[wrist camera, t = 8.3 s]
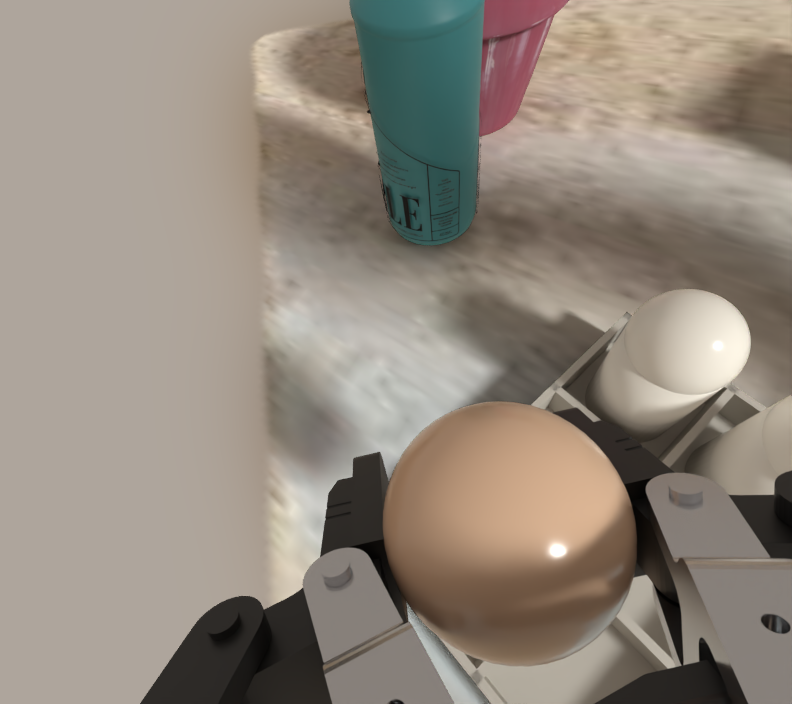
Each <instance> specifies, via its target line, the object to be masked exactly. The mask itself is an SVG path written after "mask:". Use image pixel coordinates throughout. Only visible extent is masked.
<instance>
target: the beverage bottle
mask: <svg viewBox="0 0 792 704" xmlns="http://www.w3.org/2000/svg"><path fill="white" fill-rule="evenodd" d="M484 2H485V0H350V9H351V14H352V17H353V20H354V23H355V28H356V34H357V39H358V44H359V50H360V55H361V60H362V62H361V68H362V66H363V74H364V82H365V86H366V91H365V92H367V93H366V94H365V95H367V100H368V104H367V105H369V106H368V107H369V108H370V109H369V111H367V113H370V114H371V119H372V125H373V130H374V135H375V141H376V146H377V153H378V157H379V162H378V165H380V168H381V169H380V168H379V169H380V170H381V174H382V180H383V189H382V192H383V191H384V194H383V198H384V196H385V195H386V198H384V201H385V206H386V205H387V206H388V210H387V206H386V207H385V208H386V210H387V212H389V213H388V214H389V217H390V221H391V223H392V225H393V228H394V229H395V230H396V231H397V232H398V233H399V234H400V235H401V236H402V237H403V238H405V239H406V240H408V241H410V242H413V243H416V244H420V245H439V244H443V243H447V242H450V241H452V240H454V239H456V238H457V237H459V236H460V235H462V234H463V233H464V232H465V231H466V230H467V229H468V227H469V226H470V224H471V222H472V220H473V217H474V215H475V211H476V208H477V203H476V195H477V187H479V186H478V185H479V184H478V183H479V181H477V173H478V170H479V168H480V167H479V168H478V165H479V164H480V163H479V159H478V151H479V149H480V148H481V147H480V148H479V128H480V121H479V110H480V109H479V104H480V83H481V63H482V42H483V22H484ZM361 78H362V77H361ZM363 92H364V91H363ZM365 95H364V96H365ZM365 99H366V98H365ZM366 103H367V101H366ZM480 115H481V113H480ZM481 122H482V120H481ZM481 137H482V136H481ZM480 145H481V143H480ZM480 158H481V157H480ZM378 167H379V166H378ZM479 174H480V173H479ZM379 177H380V175H379ZM479 177H480V176H479ZM479 180H480V179H479ZM380 182H381V180H380ZM381 187H382V185H381ZM478 194H479V192H478ZM477 198H479V195H478V197H477ZM385 199H386V200H385ZM386 201H387V203H386ZM478 202H479V201H478ZM477 211H478V210H477ZM387 212H386V213H387ZM387 216H388V215H387ZM387 218H388V217H387ZM391 223H390V224H391Z"/></svg>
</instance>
